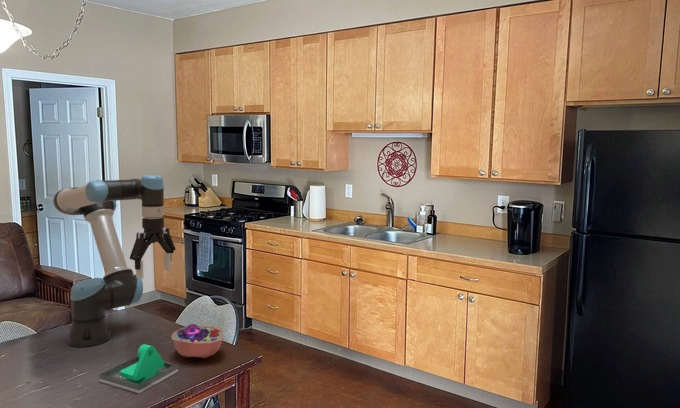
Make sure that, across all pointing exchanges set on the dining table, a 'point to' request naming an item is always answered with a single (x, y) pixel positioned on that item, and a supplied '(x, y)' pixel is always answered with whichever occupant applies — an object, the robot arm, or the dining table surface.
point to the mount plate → (141, 385)
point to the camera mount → (144, 364)
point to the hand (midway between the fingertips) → (154, 273)
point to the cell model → (197, 341)
